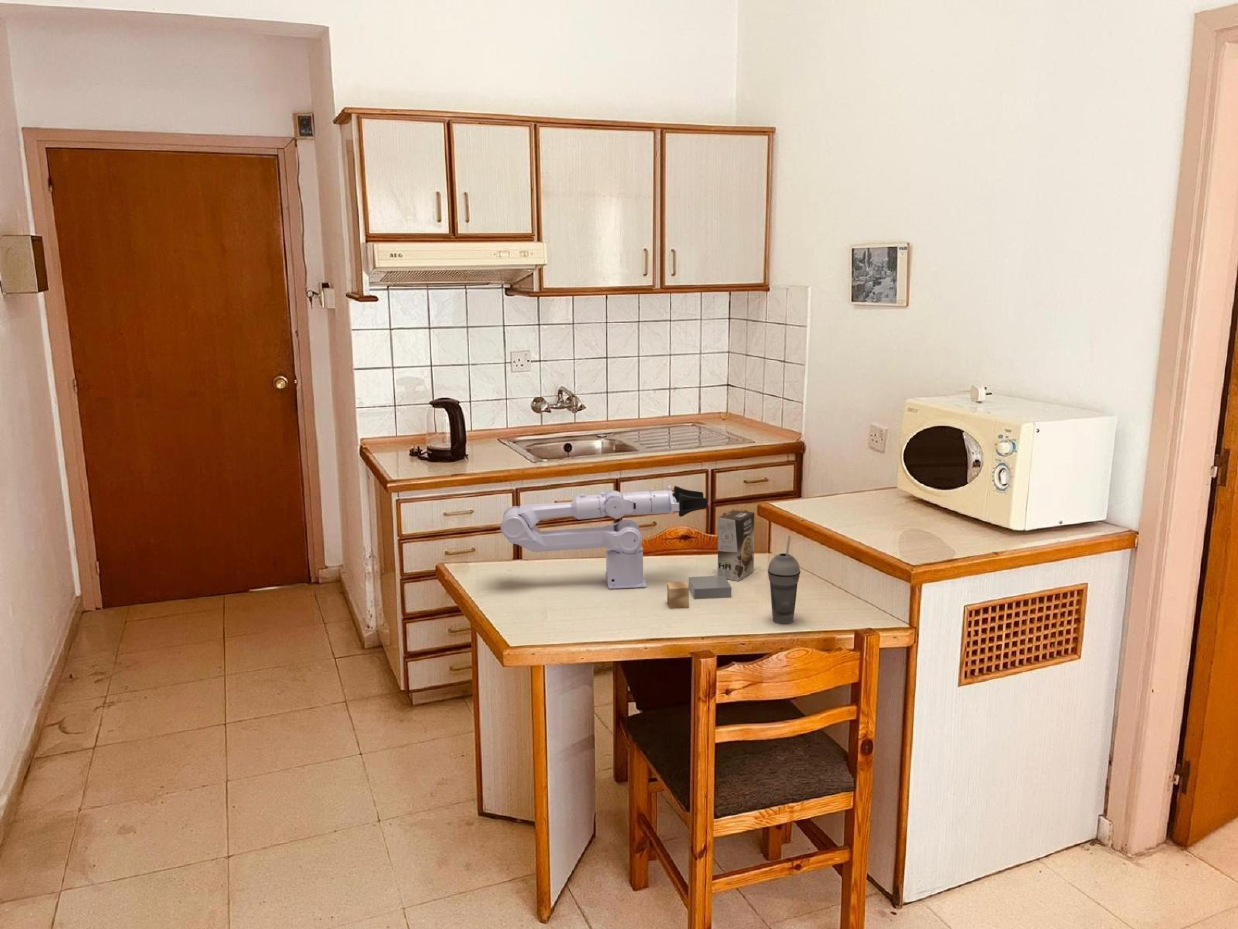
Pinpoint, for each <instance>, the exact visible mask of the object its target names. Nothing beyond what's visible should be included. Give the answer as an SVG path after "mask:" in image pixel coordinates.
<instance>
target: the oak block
mask: <svg viewBox="0 0 1238 929" xmlns="http://www.w3.org/2000/svg"><path fill="white" fill-rule="evenodd" d="M666 583H667V584H666V588H667V589H666V590H667V591H666V596H667V598H666V599H667V600H666V603H667V605H668V608H669V610H674V609H689V608H690V594H689V593H690V588H689V584H688V583H687V581H675V582H673V581H670V582H666Z"/></svg>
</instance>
